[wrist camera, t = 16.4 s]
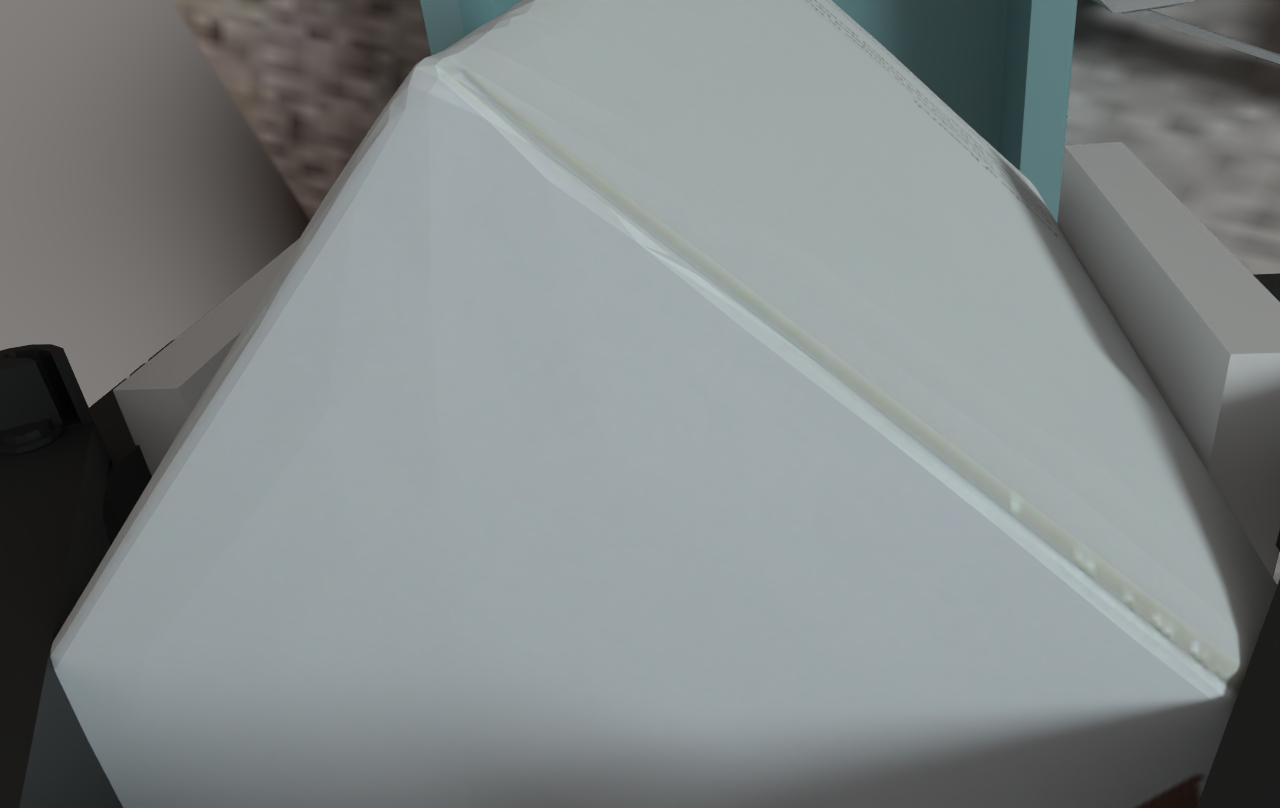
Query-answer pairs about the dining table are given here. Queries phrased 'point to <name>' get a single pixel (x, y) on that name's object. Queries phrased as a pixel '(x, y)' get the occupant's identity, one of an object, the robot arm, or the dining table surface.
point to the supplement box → (672, 465)
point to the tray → (934, 64)
